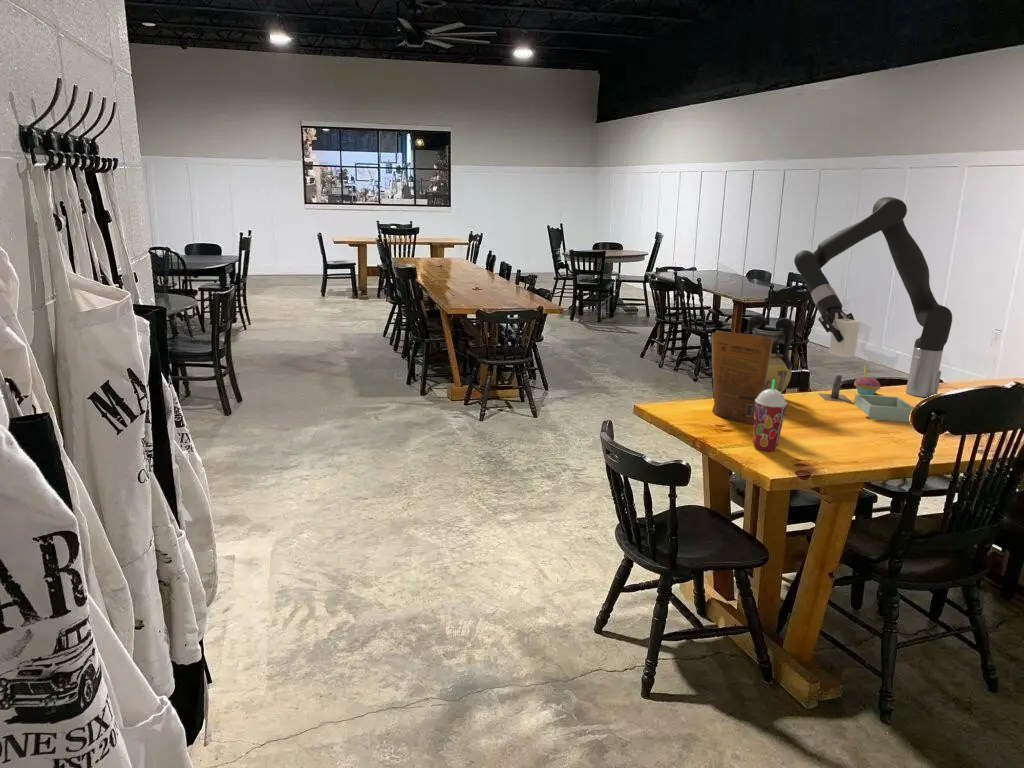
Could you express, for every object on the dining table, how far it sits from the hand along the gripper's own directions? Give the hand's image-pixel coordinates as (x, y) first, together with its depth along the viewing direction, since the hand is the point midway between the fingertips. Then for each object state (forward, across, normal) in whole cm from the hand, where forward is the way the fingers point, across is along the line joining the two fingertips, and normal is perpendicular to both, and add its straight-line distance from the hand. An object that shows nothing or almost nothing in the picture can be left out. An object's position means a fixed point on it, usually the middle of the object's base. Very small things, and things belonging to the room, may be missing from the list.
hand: (848, 340), depth 247 cm
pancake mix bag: (+18, -49, +13) cm, 54 cm away
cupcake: (+14, +16, +18) cm, 28 cm away
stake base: (+14, 0, +17) cm, 22 cm away
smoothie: (+36, -58, -4) cm, 68 cm away
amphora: (+9, -27, +22) cm, 36 cm away
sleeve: (+3, 0, +5) cm, 6 cm away
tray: (+26, +3, +5) cm, 27 cm away
